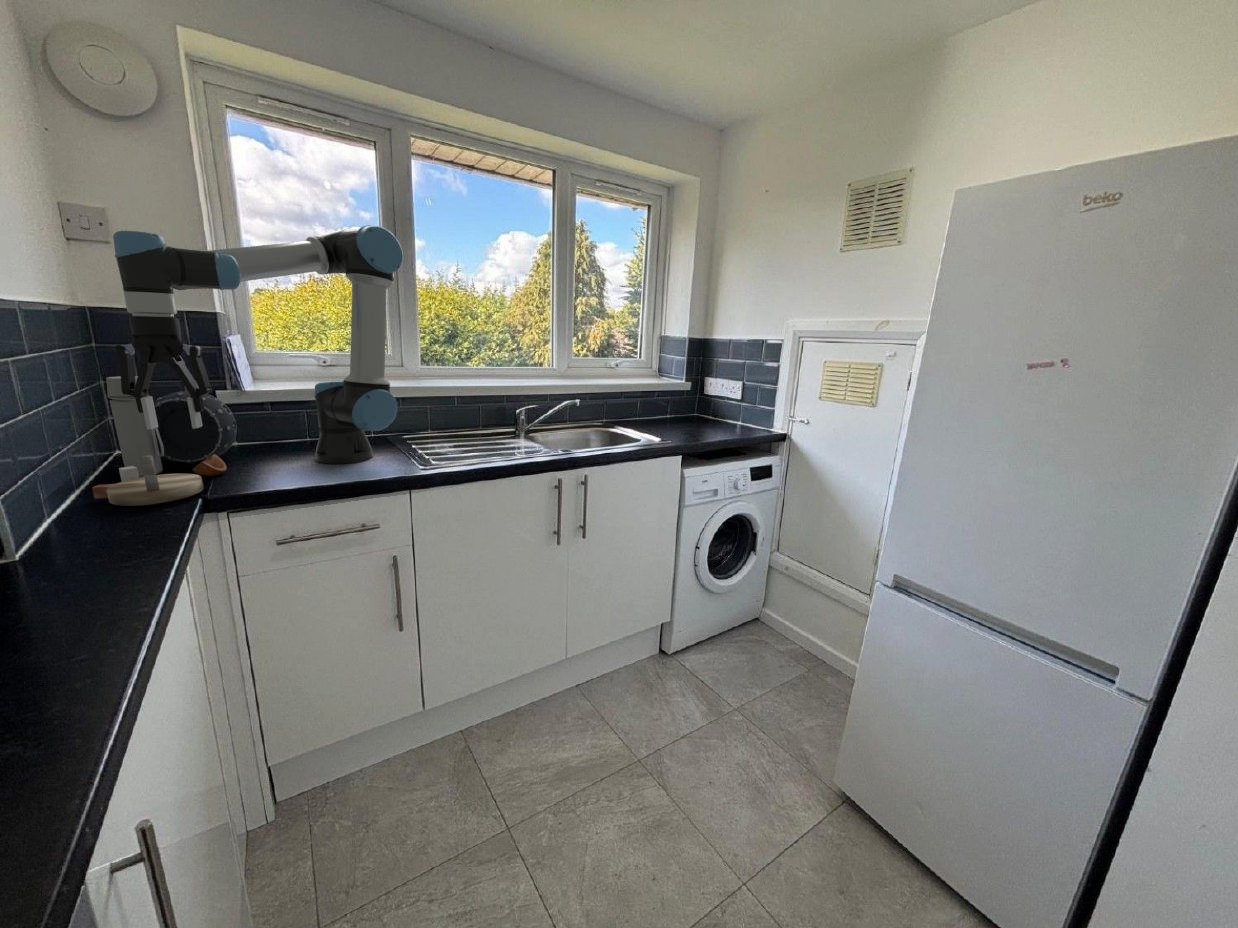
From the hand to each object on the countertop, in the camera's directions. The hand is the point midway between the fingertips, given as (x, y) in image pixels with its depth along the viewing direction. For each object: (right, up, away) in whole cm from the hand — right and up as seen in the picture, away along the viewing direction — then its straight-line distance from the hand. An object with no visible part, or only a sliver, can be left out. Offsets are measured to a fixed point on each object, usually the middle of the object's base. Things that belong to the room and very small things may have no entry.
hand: (175, 427), depth 109 cm
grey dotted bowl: (-25, -7, +37) cm, 46 cm away
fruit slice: (-12, -11, +25) cm, 30 cm away
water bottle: (-28, -11, +24) cm, 38 cm away
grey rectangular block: (-22, -13, +13) cm, 29 cm away
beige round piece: (-11, -15, +6) cm, 19 cm away
